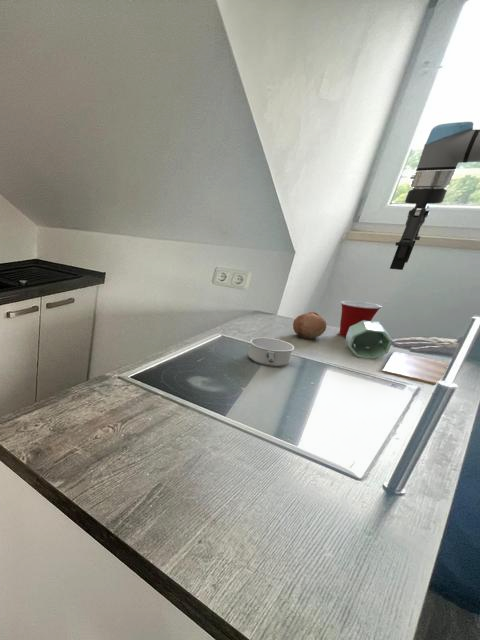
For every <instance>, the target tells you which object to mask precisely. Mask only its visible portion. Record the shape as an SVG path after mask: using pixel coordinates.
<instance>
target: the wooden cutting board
mask: <svg viewBox="0 0 480 640" xmlns="http://www.w3.org/2000/svg"><path fill="white" fill-rule="evenodd" d="M449 365H450V363H449V362H445V361H441V360H436V359H431V358H427V357H421V356H418V355H412V354H406V353H402V352H397V351H393V353H392V354H391V356H390V357H389V359H388V361H387V362H386V363H385V365H384V367H382V370H381V373H385V374H388V375H394V376H397V377H402V378H405V379H410V380H415V381H418V382H423V383H427V384H431V385H435V386H437V385H436V383H437V381H439V380H440V379H442V377H443V375H444V373H445V371H446V369H447V370H448V368H449ZM447 367H448V368H447ZM446 372H447V371H446Z"/></svg>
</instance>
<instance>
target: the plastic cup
mask: <svg viewBox="0 0 480 640" xmlns="http://www.w3.org/2000/svg"><path fill="white" fill-rule="evenodd" d="M340 305H341V315H340V324H339V335H340V336H342V337H345V338H346V335H347V332H348V330H349V327H350V326H352V325H354V324H357V323H359V322H361V321H363V320H364V321H372V320H373V318H374V317H375V315H376V314H377V313H378V311H379V310H380V309H382V307H383V306H382V305H380V304H377V303H370V302H366V301H357V300H355V301H354V300H342V301H340Z"/></svg>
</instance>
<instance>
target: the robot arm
mask: <svg viewBox="0 0 480 640" xmlns="http://www.w3.org/2000/svg"><path fill="white" fill-rule="evenodd" d="M460 163H462V164H465V163H480V129H474V122H472V121H462V122H460V121H459V122H457V121H456V122H448V123H447V122H446V123H441V124H437V125H436V126H434V127H432V129H431V131H430V132H429V135H428V137H427V139H426V141H425V144H424V146H423V149H422V152H421V155H420V158H419V161H418V164H417V167H416V170H415V173H414V174H411V176H410V177H409V179H410V180H412V181H411V183H410V187H411V188H410V189H409V190H408V191H407V194H406V196H405V199H404V203H405V204H409V205H411V204H412V205H414V207H413V208H412V209H410V210H409V211H408V214H407V219H406V221H405V228H404V230H403V232H402V235H401V238H400V240H399V241H396V242H395V244H394V246H395V247H396V246H397V247H396V251H395V253H394V256H393V259H392V261H391V263H390V267H389V270H398V271H399V270H400V271H403V270H404V267H405V265H406V264H407V263H408V262H409V260H410V257H411V254H412V253H413V249H414V247H415V244H416V241H420V240H421V236H419V232H420V230H421V227H422V226H423V225H424V224H425V222H426V219H427V218H428V217H429V214H430V212H431V210H430V208H429V204H430V205H434V204H435V205H436V204H441V203H443V201H444V199H445V196H446V195H447V192H448V189H447V188H446V187H450V185H451V183H452V180H453V177H454V175H455V173H456V169H457V166H458V164H460Z"/></svg>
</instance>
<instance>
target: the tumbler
mask: <svg viewBox="0 0 480 640" xmlns="http://www.w3.org/2000/svg"><path fill="white" fill-rule="evenodd" d="M345 339H346V343H347V346H348V349H349V350H351V353H353V355H354V356H356V358H363V359H370V360H374V359H377V358H379V357H381V356H384V355H387V354H388V353H389V351H390V349H391V347H392V345H393V339H392V337H391V336H390V334H389V333H388V331H387V330H386V329H385V327H384V326H383V325H382V324H381V323H380V322H379V321H372V320H371V321H364V320H363V321H361V322H359V323H357V324H354V325H352V326H350V327H349V330H348V332H347V335H346V337H345Z"/></svg>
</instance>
